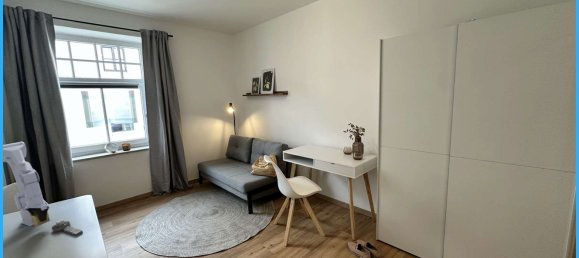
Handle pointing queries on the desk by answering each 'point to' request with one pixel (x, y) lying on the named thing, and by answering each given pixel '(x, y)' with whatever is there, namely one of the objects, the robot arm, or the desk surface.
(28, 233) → the desk surface
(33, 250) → the desk surface
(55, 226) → the ratchet
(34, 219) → the brushed gold cube
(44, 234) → the desk surface
